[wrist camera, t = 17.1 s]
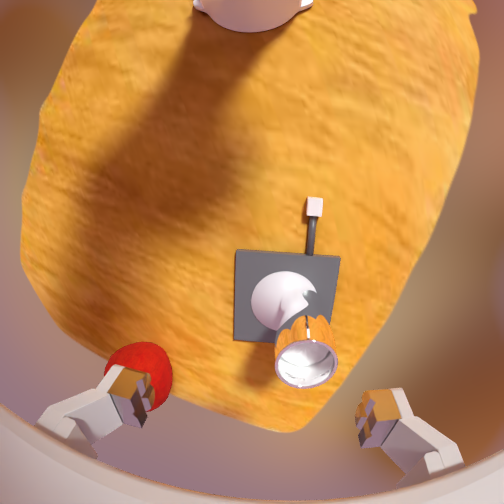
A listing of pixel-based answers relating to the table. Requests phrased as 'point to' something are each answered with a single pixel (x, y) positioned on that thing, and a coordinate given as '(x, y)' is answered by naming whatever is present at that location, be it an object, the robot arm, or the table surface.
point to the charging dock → (280, 283)
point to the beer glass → (304, 341)
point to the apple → (146, 366)
